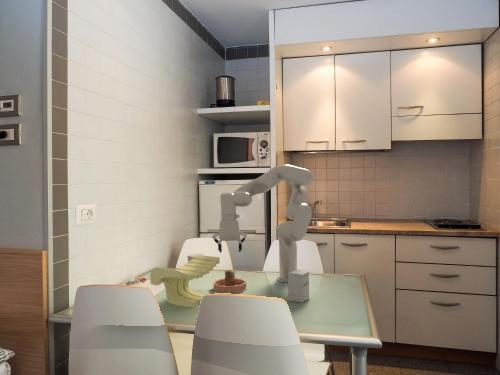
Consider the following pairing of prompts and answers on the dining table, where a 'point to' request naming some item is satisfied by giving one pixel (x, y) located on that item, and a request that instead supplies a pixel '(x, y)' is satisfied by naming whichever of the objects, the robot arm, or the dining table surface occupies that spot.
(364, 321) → the dining table surface
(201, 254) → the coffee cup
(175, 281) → the slatted curved stool
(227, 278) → the walnut bead
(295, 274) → the supplement box
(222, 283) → the round tray
